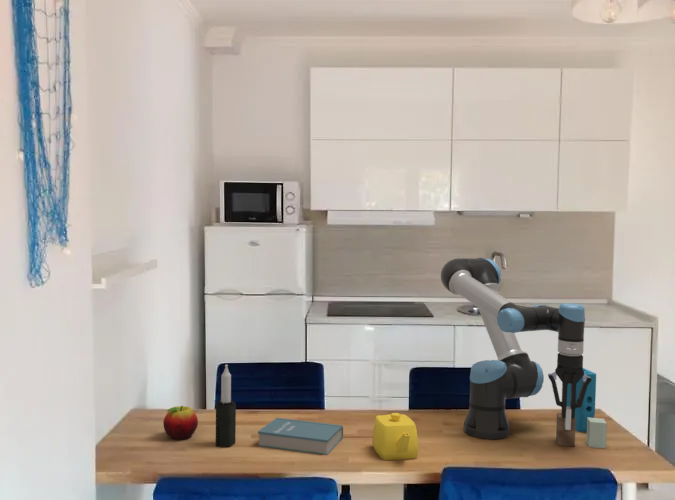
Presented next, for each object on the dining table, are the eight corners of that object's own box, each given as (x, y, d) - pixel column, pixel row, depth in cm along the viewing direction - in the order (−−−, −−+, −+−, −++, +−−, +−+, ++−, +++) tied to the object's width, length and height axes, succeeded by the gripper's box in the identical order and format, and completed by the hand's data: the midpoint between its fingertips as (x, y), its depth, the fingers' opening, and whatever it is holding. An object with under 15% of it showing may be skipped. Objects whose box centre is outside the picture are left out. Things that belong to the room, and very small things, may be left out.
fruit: (204, 436, 209) (204, 405, 208) (175, 444, 201) (175, 412, 200) (185, 428, 216) (185, 399, 216) (156, 436, 208) (156, 405, 208)
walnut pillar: (558, 445, 207) (558, 416, 206) (556, 440, 211) (557, 412, 211) (574, 446, 206) (575, 418, 205) (572, 441, 210) (573, 413, 210)
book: (257, 447, 201) (257, 431, 201) (277, 431, 216) (278, 416, 216) (327, 456, 194) (327, 440, 194) (342, 439, 210) (343, 424, 209)
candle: (236, 442, 203) (237, 363, 202) (228, 448, 199) (229, 366, 198) (222, 440, 205) (223, 362, 204) (214, 445, 200) (214, 365, 199)
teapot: (426, 464, 188) (427, 424, 188) (385, 466, 186) (386, 426, 185) (404, 441, 208) (405, 404, 207) (367, 443, 205) (368, 406, 205)
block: (595, 433, 219) (597, 374, 219) (581, 433, 219) (583, 374, 218) (577, 422, 231) (579, 366, 230) (564, 422, 231) (566, 366, 230)
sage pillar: (589, 447, 206) (590, 421, 205) (586, 441, 210) (587, 417, 210) (605, 448, 205) (606, 423, 204) (602, 443, 209) (603, 418, 209)
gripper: (549, 354, 200) (546, 430, 201) (594, 357, 197) (591, 434, 199) (547, 350, 208) (544, 422, 209) (590, 352, 205) (587, 426, 206)
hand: (567, 428), depth 204 cm, fingers closed
